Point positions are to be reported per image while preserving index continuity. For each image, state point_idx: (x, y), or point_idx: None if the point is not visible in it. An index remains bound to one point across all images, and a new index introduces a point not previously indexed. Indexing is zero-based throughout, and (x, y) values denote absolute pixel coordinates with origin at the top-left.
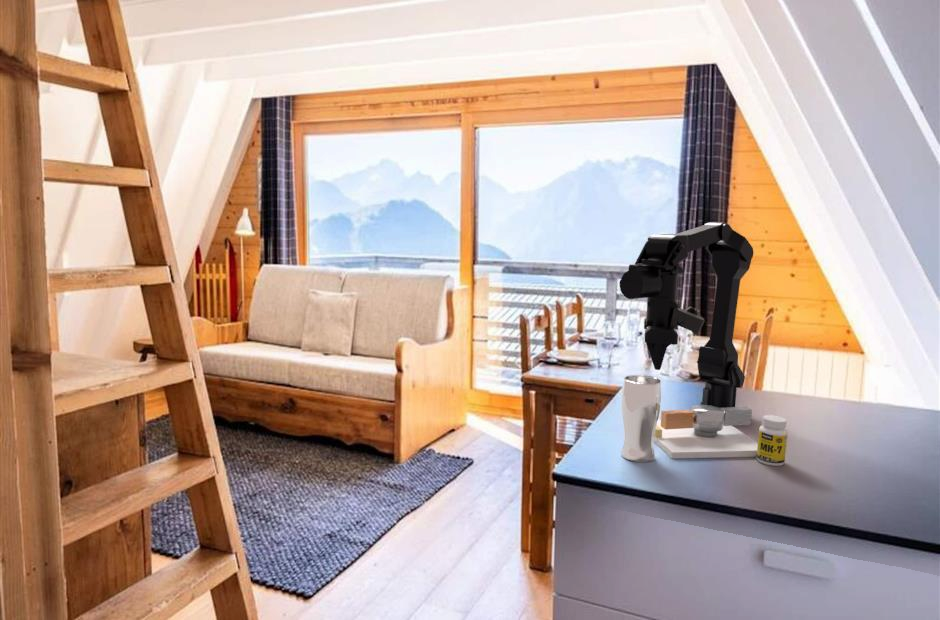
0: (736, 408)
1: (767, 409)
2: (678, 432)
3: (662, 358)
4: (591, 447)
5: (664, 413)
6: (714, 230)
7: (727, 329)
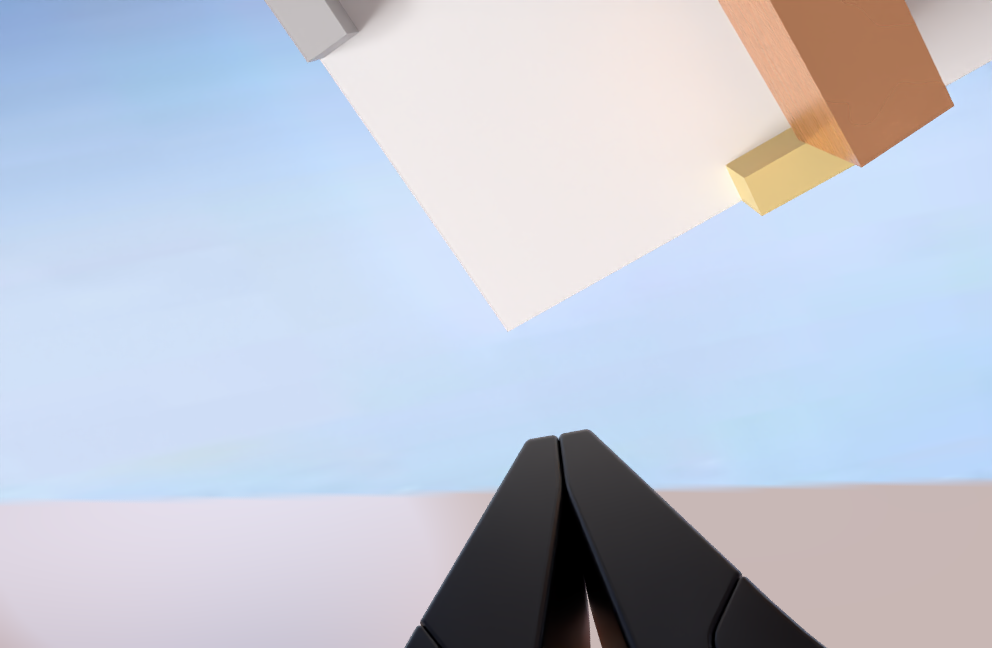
0: None
1: None
2: (665, 5)
3: (699, 550)
4: (987, 436)
5: (915, 128)
6: None
7: None
